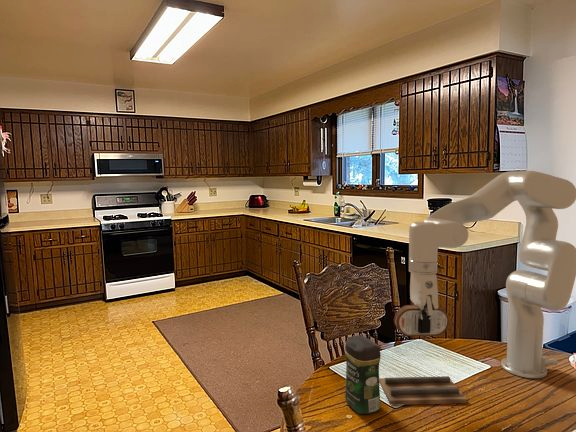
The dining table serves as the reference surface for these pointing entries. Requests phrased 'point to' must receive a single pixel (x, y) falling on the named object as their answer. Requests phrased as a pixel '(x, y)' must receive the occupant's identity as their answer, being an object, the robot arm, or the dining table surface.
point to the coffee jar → (362, 374)
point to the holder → (421, 390)
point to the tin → (409, 318)
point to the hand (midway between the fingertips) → (422, 329)
